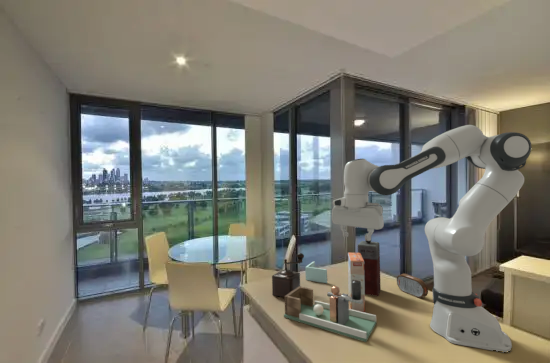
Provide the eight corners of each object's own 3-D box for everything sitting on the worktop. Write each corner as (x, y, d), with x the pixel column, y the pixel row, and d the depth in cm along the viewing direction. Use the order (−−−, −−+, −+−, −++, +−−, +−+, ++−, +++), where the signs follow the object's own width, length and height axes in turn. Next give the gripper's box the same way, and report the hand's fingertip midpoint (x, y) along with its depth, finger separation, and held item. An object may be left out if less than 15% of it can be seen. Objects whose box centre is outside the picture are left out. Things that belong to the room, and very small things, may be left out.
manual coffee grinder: (292, 300, 122) (291, 260, 122) (271, 295, 128) (271, 257, 128) (306, 288, 136) (305, 252, 136) (287, 284, 141) (286, 250, 141)
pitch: (376, 323, 100) (375, 295, 100) (366, 342, 89) (365, 310, 89) (300, 303, 118) (300, 280, 118) (283, 317, 106) (283, 290, 107)
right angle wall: (326, 284, 142) (326, 269, 142) (305, 280, 147) (305, 267, 148) (333, 277, 152) (333, 263, 152) (313, 274, 158) (313, 261, 158)
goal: (313, 305, 114) (313, 289, 114) (299, 318, 103) (299, 299, 104) (299, 302, 117) (299, 286, 118) (284, 313, 107) (284, 296, 107)
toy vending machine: (357, 285, 137) (355, 231, 137) (380, 289, 132) (379, 232, 132) (353, 292, 129) (352, 234, 129) (378, 296, 124) (376, 235, 124)
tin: (428, 299, 120) (428, 280, 120) (424, 301, 118) (423, 282, 118) (400, 288, 133) (399, 271, 133) (395, 289, 132) (395, 272, 132)
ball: (325, 314, 106) (325, 303, 106) (321, 318, 103) (321, 307, 103) (316, 311, 108) (315, 301, 109) (311, 315, 105) (311, 305, 105)
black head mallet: (365, 321, 99) (364, 280, 99) (360, 329, 94) (359, 285, 94) (331, 313, 106) (330, 274, 106) (325, 319, 101) (324, 278, 101)
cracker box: (366, 312, 109) (364, 260, 109) (350, 311, 110) (349, 260, 110) (362, 298, 123) (360, 252, 123) (348, 297, 124) (347, 251, 124)
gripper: (386, 202, 96) (387, 241, 96) (338, 200, 111) (338, 233, 111) (378, 203, 91) (378, 244, 91) (329, 201, 107) (329, 235, 107)
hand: (356, 238), depth 101 cm, fingers open, 8 cm apart
